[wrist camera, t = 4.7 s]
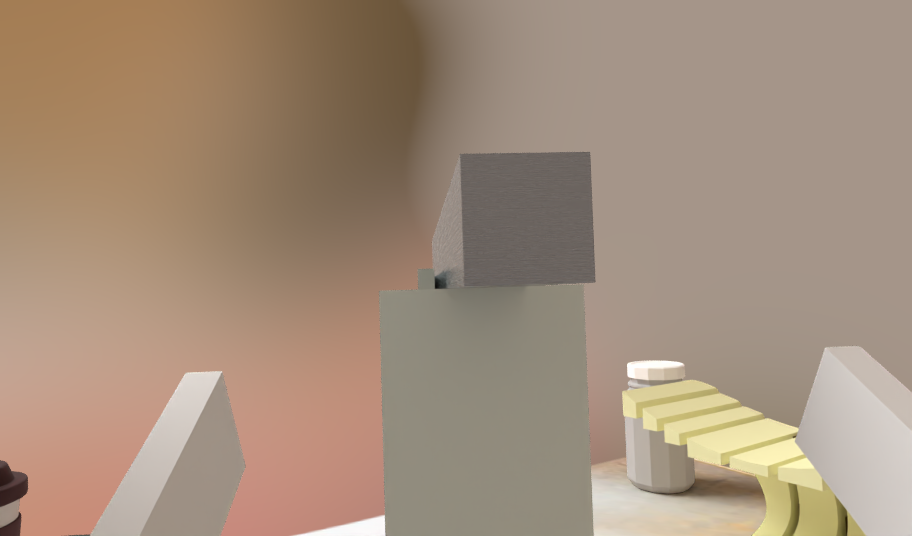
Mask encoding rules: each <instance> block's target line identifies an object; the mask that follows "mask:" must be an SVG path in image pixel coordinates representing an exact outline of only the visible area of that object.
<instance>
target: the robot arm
mask: <svg viewBox="0 0 912 536" xmlns="http://www.w3.org/2000/svg"><path fill="white" fill-rule="evenodd" d="M795 443H796V444H797V445H798V447H799V448H800V449H801V451H802V452H803V453H804V455H805V456H806V457H807V459H808V460H809V461H810V463H811V464H812V465H813V466H814V468H815V469H816V470H817V472H818V473H819V474H820V476H821V477H822V478H823V480H824V481H825V482H826V484H827V485H828V486H829V487H830V489H831V490H832V491H833V493H834V494H835V495H836V497H837V498H838V499H839V501H840V502H841V503H842V504H843V506H844V507H845V508H846V510H847V511H848V512H849V514H850V515H851V516H852V518H853V519H854V520H855V522H856V523H857V524H858V525H859V527H860V528H861V529H862V531H863V532H864V533H865V535H866V536H912V392H911V391H909V390H908V389H907V388H906V387H905V386H904V385H903V384H902V383H900V382H899V381H898V380H897V379H896V378H895V377H894V376H893V375H891V374H890V373H889V372H888V371H887V370H886V369H885V368H883V366H881V365H880V364H879V363H878V362H877V361H876V360H875V359H873V358H872V357H871V356H870V355H869V354H868V353H867V352H866V351H865V350H863V349H862V348H861V347H860V346H846V347H826V348H825V350H824V353H823V356H822V359H821V363H820V365H819V368H818V371H817V375H816V378H815V381H814V384H813V387H812V390H811V393H810V396H809V399H808V402H807V405H806V408H805V411H804V414H803V418H802V421H801V424H800V427H799V430H798V433H797V436H796V439H795ZM244 469H245V461H244V458H243V453H242V449H241V445H240V442H239V437H238V433H237V429H236V425H235V421H234V417H233V414H232V409H231V405H230V401H229V397H228V393H227V389H226V385H225V381H224V377H223V373H222V371H217V372H194V373H185V375H184V377H183V379H182V380H181V382H180V384H179V385H178V387H177V389H176V390H175V392H174V394H173V395H172V397H171V399H170V401H169V402H168V404H167V406H166V408H165V409H164V411H163V413H162V414H161V416H160V418H159V419H158V421H157V423H156V424H155V426H154V428H153V429H152V431H151V433H150V434H149V436H148V438H147V440H146V441H145V443H144V445H143V446H142V448H141V450H140V451H139V453H138V455H137V457H136V458H135V460H134V462H133V463H132V465H131V467H130V468H129V470H128V472H127V474H126V475H125V477H124V479H123V480H122V482H121V484H120V486H119V487H118V489H117V491H116V492H115V494H114V496H113V497H112V499H111V501H110V502H109V504H108V506H107V507H106V509H105V511H104V513H103V514H102V516H101V518H100V519H99V521H98V523H97V524H96V526H95V528H94V530H93V531H92V533H91V535H72V536H220V535H221V532H222V530H223V527H224V524H225V522H226V519H227V516H228V513H229V510H230V508H231V505H232V502H233V499H234V497H235V494H236V491H237V489H238V486H239V483H240V480H241V477H242V475H243V472H244ZM70 536H71V535H70Z"/></svg>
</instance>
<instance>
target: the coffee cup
mask: <svg viewBox="0 0 912 536" xmlns="http://www.w3.org/2000/svg"><path fill="white" fill-rule="evenodd" d="M27 490H28V477H27V475H26V474H24V473H21V472H14V471H11V469H10V468H9V466H8V464H7V463H6V462H5V461H1V460H0V536H20V527H21V513H20V512H19V502H20V498H22V497H23V496H24V495H25V494H26V493H27Z"/></svg>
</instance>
